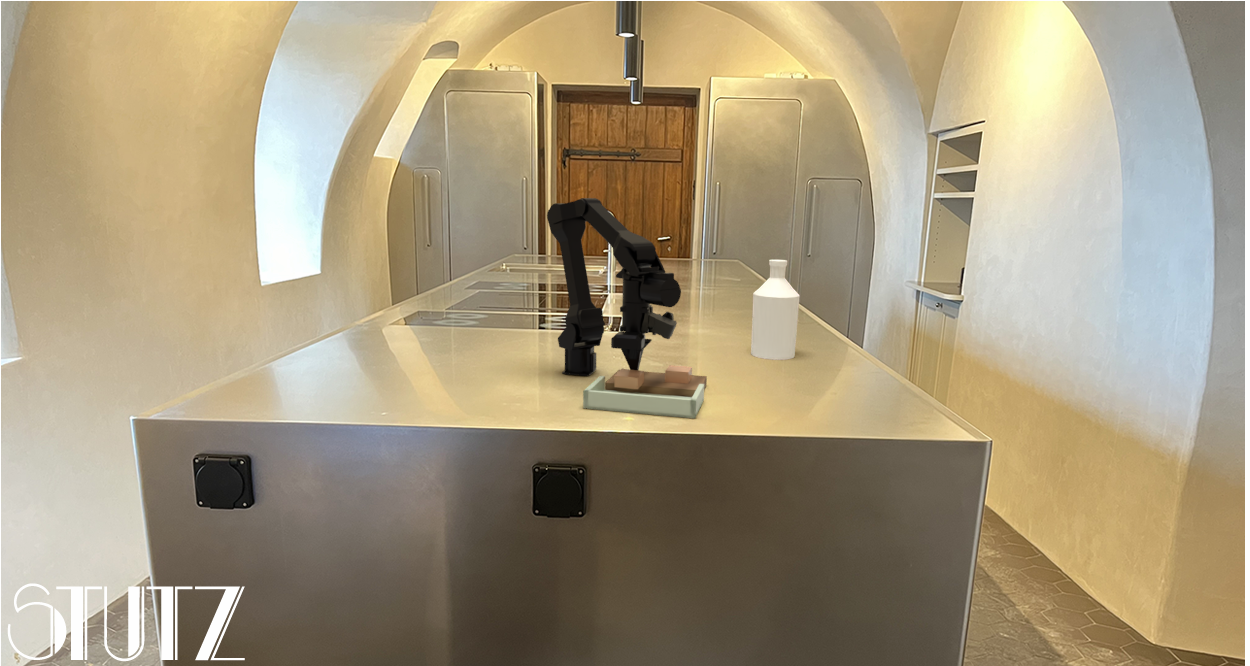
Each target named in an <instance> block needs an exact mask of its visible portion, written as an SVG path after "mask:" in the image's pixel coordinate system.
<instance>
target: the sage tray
mask: <svg viewBox="0 0 1250 666" xmlns="http://www.w3.org/2000/svg"><path fill="white" fill-rule="evenodd" d="M605 382H606V375H599V376H598V377H597V378H596V379H595V380H594V381H593V382H592V383H590V384H589V385H588V386H587V387H586V388H585V389H584V390H583V394H582V396H583V398H582V400H583V402H582V406H583V407H582V408H583V409H586V408H587V409H588V410H596V411H597V410H598V411H610V412H621V413H631V414H642V415H652V416H654V415H655V416H663V417H674V418H683V419H684V418H686V419H696V418H697V416H698V413H699V411H700V409H701V407H702V405H703V403H704V399H705V389H704V384H699V385H698V387H697V389H696V391H695V393H694V395H693V396H692V397H683V396H671V395H660V394H648V393H636V392H624V391H613V390H605Z"/></svg>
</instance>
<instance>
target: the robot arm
mask: <svg viewBox="0 0 1250 666" xmlns="http://www.w3.org/2000/svg"><path fill="white" fill-rule="evenodd" d="M546 218H547V223H548V226H549V230H550V232H551V235H552V236H553V237H554V238H555V239H556V240H557V241H556V242H558V243H559V246H560V253H561V259H562V264H563V270H564V276H565V277H564V278H565V283H566V288H567V289H566V290H567V294H568V302H569V307H568V311H567V313H566V315H565V328H564V329H563V330H562V332H561V333H560V335H559V336H558V338H557V342H558V343H557V344H558V347H559V348H561V349H564V370H563V371H562V375H569V376H570V375H572V376H584V377H589V376H591V375H592V374H593V373H594V372H596V371H597V352H595V347H600V346H601V343H602V342H601V341H602V339H603V335H604V334H605V326H606V323H605V321H604V313H603V309H602V308H601V307H596V306H595V304H594V303H593V302H592V298H591V297H592V296H591V291H590V286H589V280H588V272H587V267H586V266H587V265H586V262H585V261H586V260H585V255H584V250H583V243H582V240H583V236H584V234H585V231H586V228H587V226H586V225H587V224H586V222H587V223H588V224H589V225H590V226H591V227H592V228H593V229H594V230H595V231H596V232H597V233H598V234H599V235H600V236H601V238H603V239H604V240H605V241H606V242H607V243H608V244H609V245H610V246H611V248H612V253H613V257H614V259H615V260H616V261H617V262H618V264H619V265H620V267H622V269H621V270H619V272H617V273H616V274H615V278H617V279H622V304H621V306H620V307H619V312H620V313H622V315H621V321H622V322H621V325H620V326H619V331H618V332H617V333H615V335H613V336H612V337H611V339H610V341H611V343H610V347H611V349H620V350H621V352H622V354H623V356H624V358H625V360H626V364H627V365H628V367H629V370H639V369H640V365H641V361H642V357H643V353H644V351H645V350H644V349H645V348H646V347H647V346H648V345H649V344H650V343H651V342H652V340H653V339H652V338H646V334H649V333H651V334H652V336H656V335H659V336H661V337H662V338H663V339H666V340H670V338H671V337H673V334H674V332H675V329H676V327H677V324H678V322H677V320H675V318H674V313H672V312H670V311H665V313H663V314H661V313H655V312H654V307H653V306H652V305H656V306H660V307H664V308H665V307H666V308H674V307H675V306H676V305H677V304H678V303H679V301H680V299H681V293H682V289H681V286H680V284H679V282H678V281H677V280H676V279H675V273H674V272H666V271H665V267H664V265H663V264H662V262H661V260H660V257H659V255H658V253H657V251H656V249H657V248H656V246H655V245H654V243H653V242H652V241H650V240H649V239H647V238H645V237H644V236H641V235H639V234H637V233H634V232H632V231H630V230H629V229H628V228H626V227H625V225H623V223H622V222H620V221H619V220H618V219H617V218H616V217H615V216H614V215H613V214H612V213H611V211H609V210H608V209H607V208H606V206H604V205H603V204H602V201H601V200H600V199H598V198H596V197H595V198H593V197H588V198H587V197H584V198H583V197H582V198H579V199H576V200H573V201H569V202H566V203H565V202H563V203H562V202H561V203H552V204H551V206H550V207H549V209H548V211H547V214H546Z"/></svg>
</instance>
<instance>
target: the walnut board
mask: <svg viewBox="0 0 1250 666" xmlns="http://www.w3.org/2000/svg"><path fill="white" fill-rule="evenodd" d="M620 370H621V369H618V370H617V371H616V372H615V373H614V374H613V375H611V376H610V377H609V378H608V379H607V381H606V380H605V390H613V391H624V392H636V393H648V394H660V395H671V396H683V397H692V396H693V395H694V393H695V391H696V389H697V387H698V385H699V384H704V390H705V389H706V387H707V383H708V382H707V379H708V378H707V377H708V376H706V375H693V374H692V378H691V380H690V382H689V383H688V384H685V383H673V382H665V372H655V371H645V370H643V371H644V383H643V384H642V385H641V386H640V387H639V388H638V389H628V388H618V387H614V376H615V375H616V374H617V373H618V372H619V371H620Z"/></svg>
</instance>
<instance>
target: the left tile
mask: <svg viewBox="0 0 1250 666" xmlns="http://www.w3.org/2000/svg"><path fill="white" fill-rule="evenodd" d="M619 370H620V371H619V372H618V373H617V374H616V375H615V376H614V387H618V388H628V389H638V388H639V387H640V386H641V385H642V384H643V383H644V371H645V370H641V369H640V370H630V368H629V369H627V368H621V369H619Z"/></svg>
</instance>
